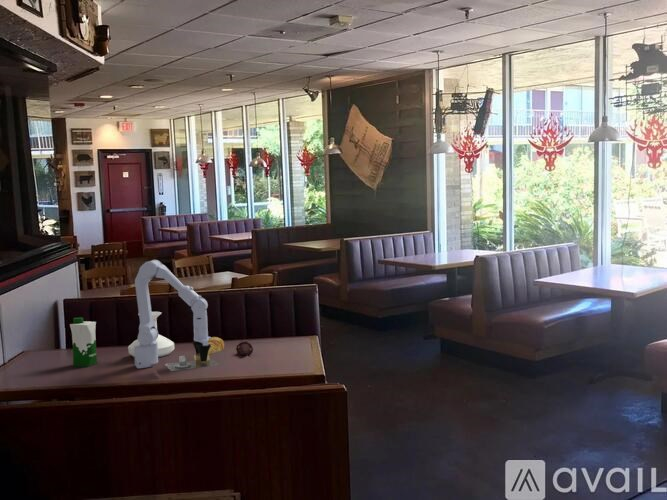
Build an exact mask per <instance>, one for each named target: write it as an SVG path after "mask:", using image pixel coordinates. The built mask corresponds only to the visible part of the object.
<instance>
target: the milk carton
mask: <svg viewBox="0 0 667 500" xmlns="http://www.w3.org/2000/svg"><path fill="white" fill-rule="evenodd" d="M72 321H73V322H72V323H70V324H69V327H70V330H71V340H72V367H78V368H79V367H80V368H81V367H82V368H83V367H91V366H94V365H95V364H97V363H98V357H97V356H98V355H97V341H96V340H97V339H96V327H97V326H96V324H97V321H90V320H89V321H87V320H86V321H84V317H81V316H80V317H73V320H72Z"/></svg>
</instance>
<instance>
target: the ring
mask: <svg viewBox="0 0 667 500" xmlns="http://www.w3.org/2000/svg"><path fill="white" fill-rule="evenodd" d="M209 358H210V354H209V353H208V356H207V361H203V362H201V359H200V353H196V352H195V354H194V355H193V359H194V361H195V362H196V363H204V362H208V361H210V359H209Z"/></svg>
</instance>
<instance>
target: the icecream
mask: <svg viewBox="0 0 667 500" xmlns="http://www.w3.org/2000/svg"><path fill="white" fill-rule="evenodd" d="M235 350H236V354H237V355H243V356H248V357H250V356H251V355H252V354H253V351H254V347H253V345H252V344H251V343H250V342H249V341H248V340H247V341H240V342H239V343H238V344H236V349H235Z"/></svg>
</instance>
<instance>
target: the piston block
mask: <svg viewBox="0 0 667 500" xmlns="http://www.w3.org/2000/svg"><path fill="white" fill-rule="evenodd" d="M178 358H179V359H178V362H177V361H176V362H169V363H164V365H165V367H167V369H168V370H169V371H170V372H175V371H182V370H185V371H186V370H190V369H199V368H207V367H214V366H221V364H220V363H219V362H218V361H216V360H215V359H214V358H212V357H211V358H210V357H209V359H210V361H208V362H204V363H196V362H195V361H194V360H187V356H186V355H180V356H179V357H178Z"/></svg>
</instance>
